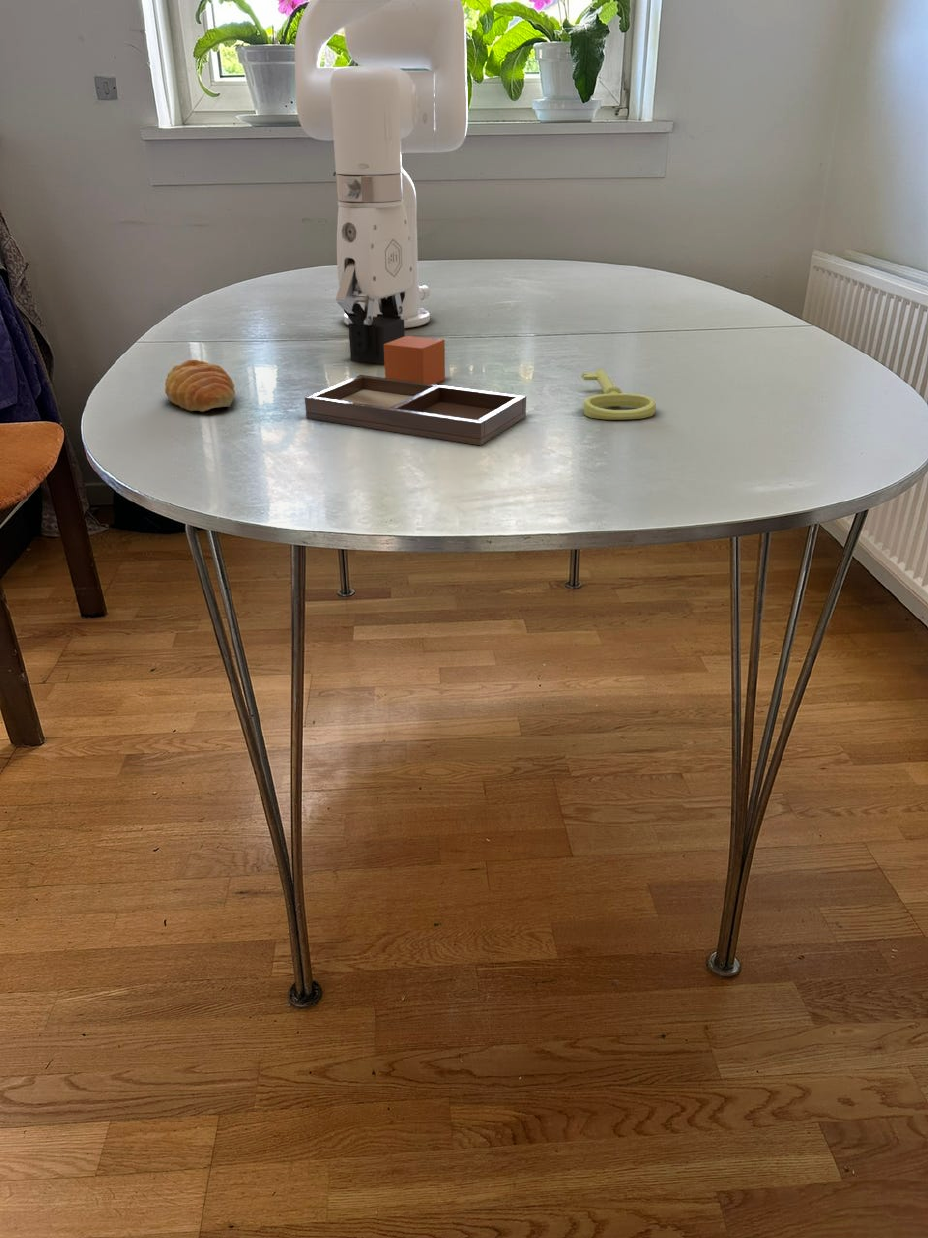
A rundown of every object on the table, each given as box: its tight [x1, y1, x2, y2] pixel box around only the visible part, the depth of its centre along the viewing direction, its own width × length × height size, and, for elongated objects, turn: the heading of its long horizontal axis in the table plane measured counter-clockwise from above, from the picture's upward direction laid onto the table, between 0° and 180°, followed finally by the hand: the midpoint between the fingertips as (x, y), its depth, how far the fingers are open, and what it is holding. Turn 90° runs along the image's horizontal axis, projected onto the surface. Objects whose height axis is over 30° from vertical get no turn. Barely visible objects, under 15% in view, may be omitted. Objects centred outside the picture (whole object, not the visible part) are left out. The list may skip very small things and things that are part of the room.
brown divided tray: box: [304, 374, 527, 446], centre depth 91 cm, size 10×20×2 cm, turn 63°
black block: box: [347, 317, 406, 366], centre depth 113 cm, size 5×5×4 cm
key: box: [581, 368, 657, 421], centre depth 95 cm, size 7×12×2 cm, turn 23°
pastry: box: [164, 359, 236, 413], centre depth 96 cm, size 9×7×4 cm
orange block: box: [384, 335, 446, 385], centre depth 103 cm, size 5×5×4 cm
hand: (377, 350), depth 114 cm, fingers closed on black block, 5 cm apart
